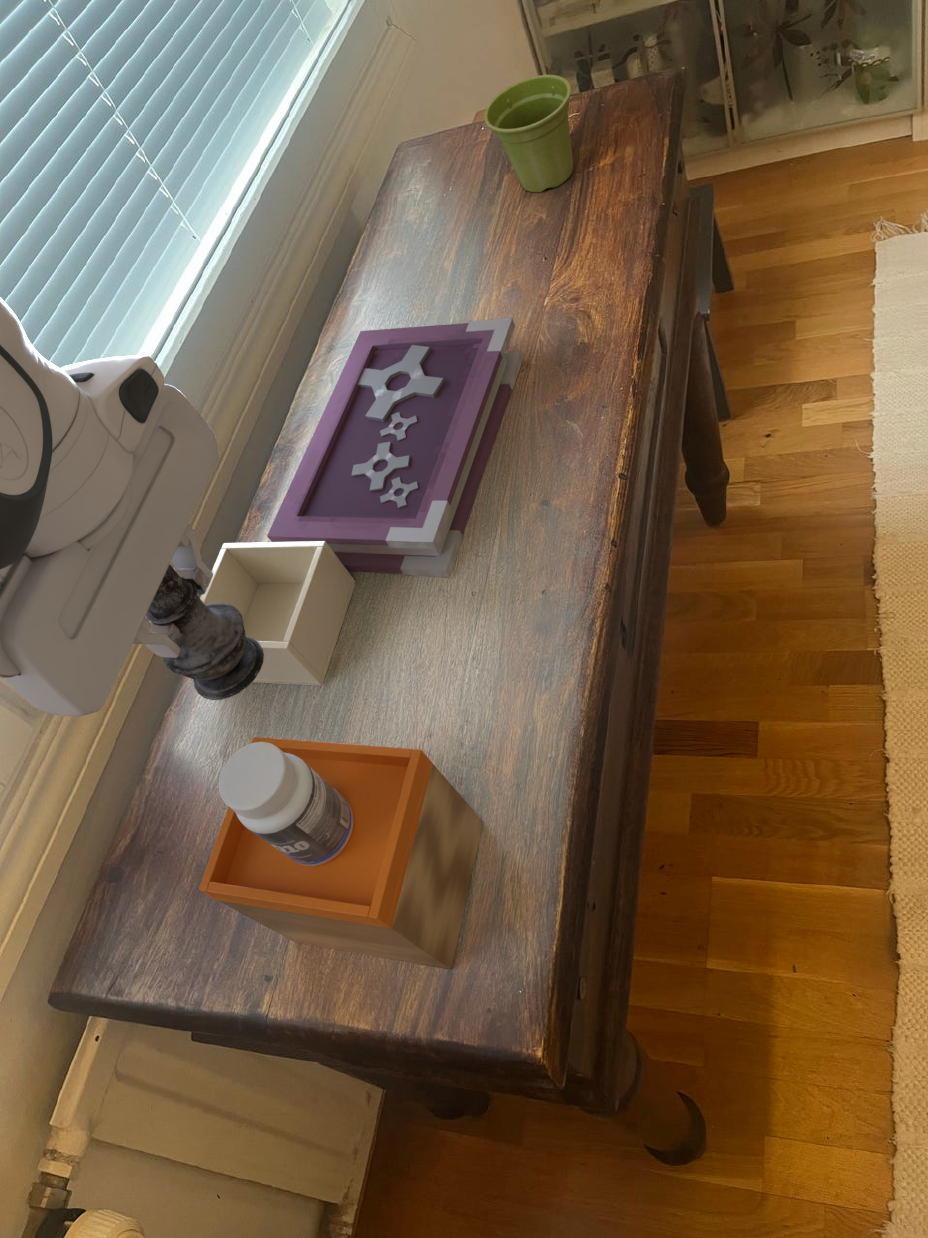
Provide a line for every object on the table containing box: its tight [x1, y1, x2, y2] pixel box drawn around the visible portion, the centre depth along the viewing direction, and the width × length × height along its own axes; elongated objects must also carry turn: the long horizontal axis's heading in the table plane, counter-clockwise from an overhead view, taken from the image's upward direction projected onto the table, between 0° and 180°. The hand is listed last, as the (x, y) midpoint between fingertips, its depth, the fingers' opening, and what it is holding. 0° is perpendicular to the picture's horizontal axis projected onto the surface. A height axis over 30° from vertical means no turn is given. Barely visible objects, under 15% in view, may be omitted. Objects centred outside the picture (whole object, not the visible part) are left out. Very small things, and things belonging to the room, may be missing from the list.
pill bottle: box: [218, 742, 354, 866], centre depth 53 cm, size 5×5×8 cm
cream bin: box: [199, 541, 357, 687], centre depth 78 cm, size 10×10×6 cm
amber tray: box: [198, 736, 434, 928], centre depth 56 cm, size 10×12×2 cm
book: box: [266, 317, 524, 578], centre depth 84 cm, size 25×16×5 cm, turn 163°
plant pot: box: [483, 74, 574, 193], centre depth 101 cm, size 9×9×9 cm
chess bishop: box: [145, 563, 264, 701], centre depth 59 cm, size 6×6×12 cm
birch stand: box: [217, 763, 484, 971], centre depth 61 cm, size 10×12×10 cm
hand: (187, 615), depth 60 cm, fingers closed on chess bishop, 3 cm apart
